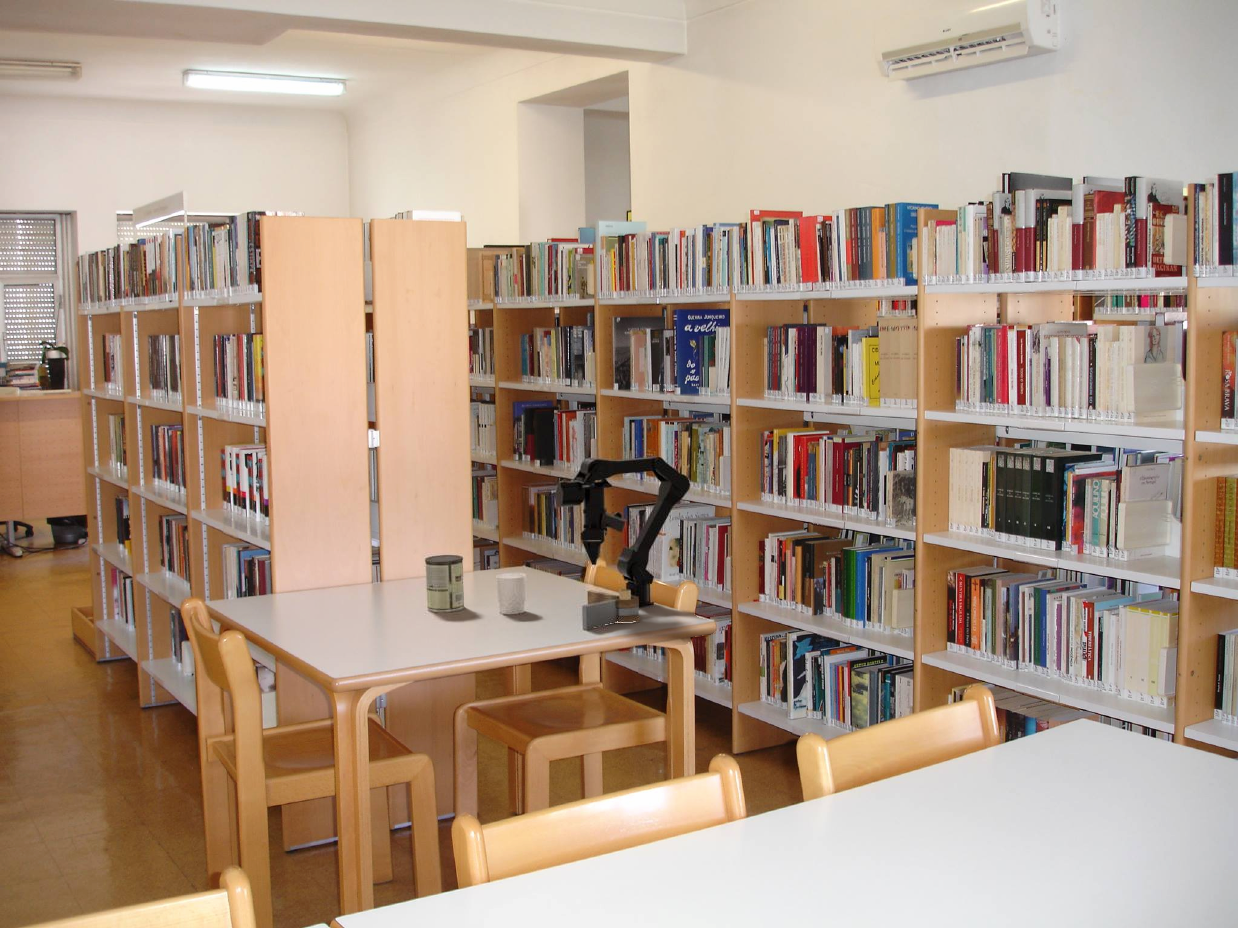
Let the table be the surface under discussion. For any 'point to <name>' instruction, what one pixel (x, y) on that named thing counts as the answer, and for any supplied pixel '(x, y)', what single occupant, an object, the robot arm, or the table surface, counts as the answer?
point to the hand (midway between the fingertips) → (595, 561)
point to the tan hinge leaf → (633, 602)
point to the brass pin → (624, 594)
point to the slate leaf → (604, 613)
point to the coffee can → (444, 583)
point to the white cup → (511, 592)
